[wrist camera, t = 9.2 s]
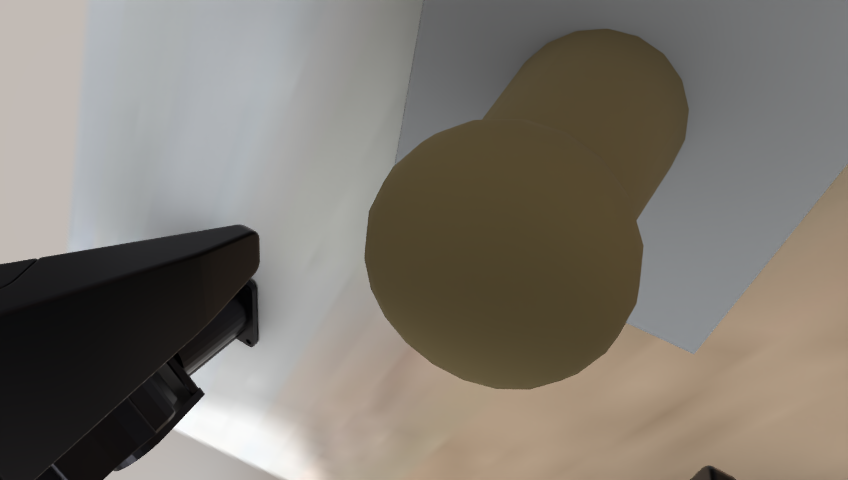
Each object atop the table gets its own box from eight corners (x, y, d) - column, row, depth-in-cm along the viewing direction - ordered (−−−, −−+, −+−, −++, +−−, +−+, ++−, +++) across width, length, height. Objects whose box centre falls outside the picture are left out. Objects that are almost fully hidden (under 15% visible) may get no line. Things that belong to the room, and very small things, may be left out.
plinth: (694, 323, 20) (693, 354, 18) (407, 194, 24) (386, 211, 22) (991, -65, 12) (1032, -68, 10) (480, -168, 16) (455, -181, 14)
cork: (513, 21, 16) (294, 99, 8) (717, 37, 14) (730, 176, 5) (495, 186, 19) (328, 371, 11) (658, 222, 17) (609, 493, 8)
